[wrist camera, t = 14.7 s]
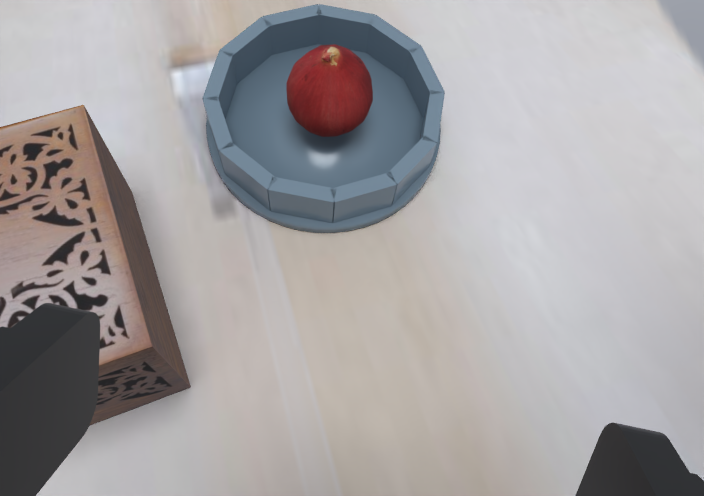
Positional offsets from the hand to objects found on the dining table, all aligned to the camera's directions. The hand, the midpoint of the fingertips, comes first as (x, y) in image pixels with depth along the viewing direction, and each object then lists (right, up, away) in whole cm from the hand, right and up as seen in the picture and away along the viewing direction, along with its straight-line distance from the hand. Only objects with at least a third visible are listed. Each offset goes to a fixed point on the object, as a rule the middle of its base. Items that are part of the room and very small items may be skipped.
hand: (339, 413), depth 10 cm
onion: (-2, +11, +35) cm, 36 cm away
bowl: (-2, +11, +35) cm, 37 cm away
